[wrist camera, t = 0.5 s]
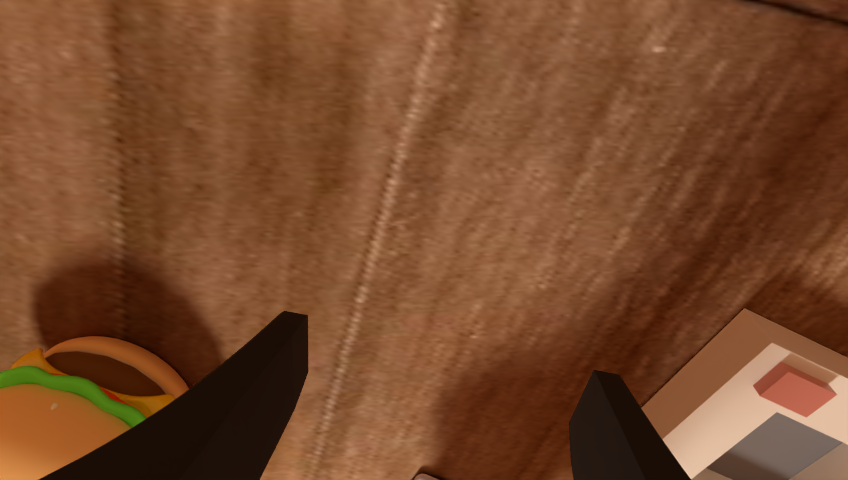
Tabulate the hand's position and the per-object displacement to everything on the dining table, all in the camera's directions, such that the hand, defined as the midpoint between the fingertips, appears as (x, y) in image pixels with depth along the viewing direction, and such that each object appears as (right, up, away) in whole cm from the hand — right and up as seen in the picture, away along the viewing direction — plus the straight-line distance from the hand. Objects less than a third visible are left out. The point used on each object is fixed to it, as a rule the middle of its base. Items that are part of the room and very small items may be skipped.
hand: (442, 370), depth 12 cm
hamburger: (-20, -6, +18) cm, 28 cm away
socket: (+17, -7, +13) cm, 23 cm away
